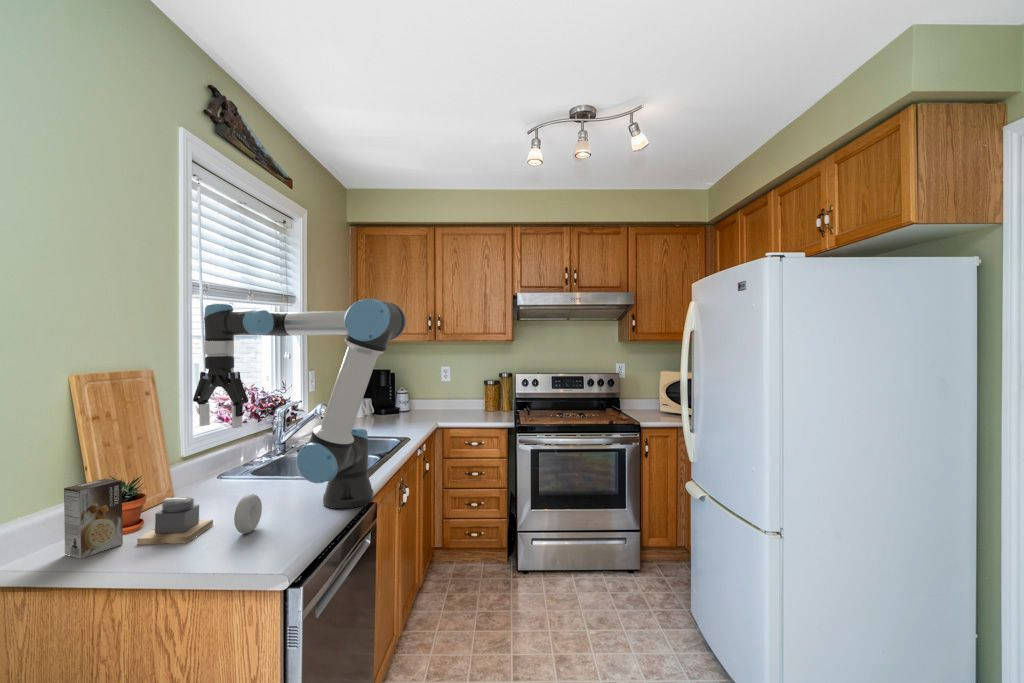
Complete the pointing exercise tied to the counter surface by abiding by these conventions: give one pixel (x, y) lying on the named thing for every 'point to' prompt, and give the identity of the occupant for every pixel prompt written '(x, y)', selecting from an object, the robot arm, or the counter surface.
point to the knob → (177, 515)
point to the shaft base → (174, 535)
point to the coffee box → (93, 517)
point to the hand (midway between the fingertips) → (220, 426)
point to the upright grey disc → (248, 513)
